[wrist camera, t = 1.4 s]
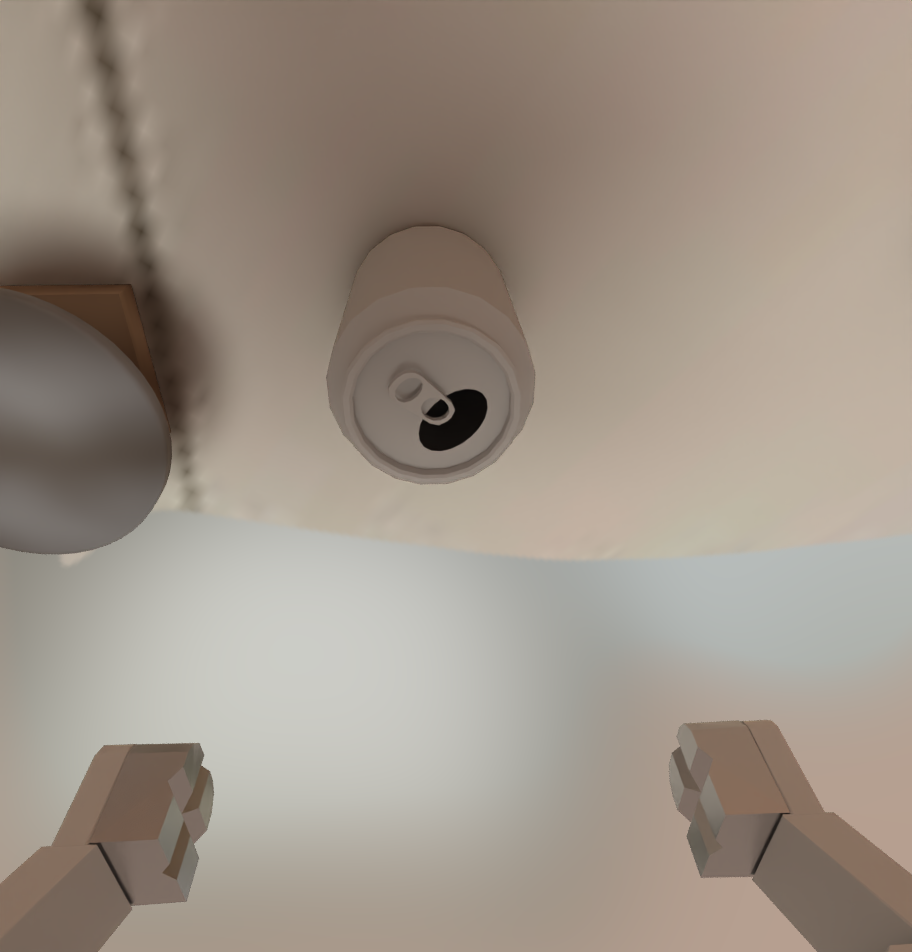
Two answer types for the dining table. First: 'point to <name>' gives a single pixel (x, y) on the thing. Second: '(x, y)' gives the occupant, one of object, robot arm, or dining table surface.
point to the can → (430, 359)
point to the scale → (77, 418)
